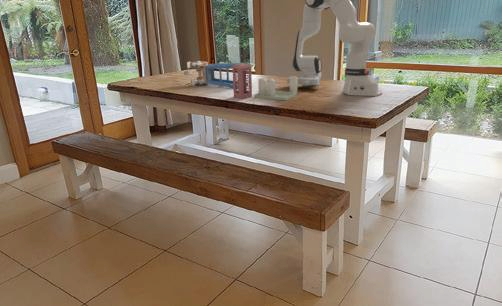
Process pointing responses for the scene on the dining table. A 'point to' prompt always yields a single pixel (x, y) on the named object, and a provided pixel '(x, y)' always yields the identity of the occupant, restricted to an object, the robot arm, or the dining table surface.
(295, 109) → the dining table surface
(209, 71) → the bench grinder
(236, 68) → the miniature model
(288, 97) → the tray
